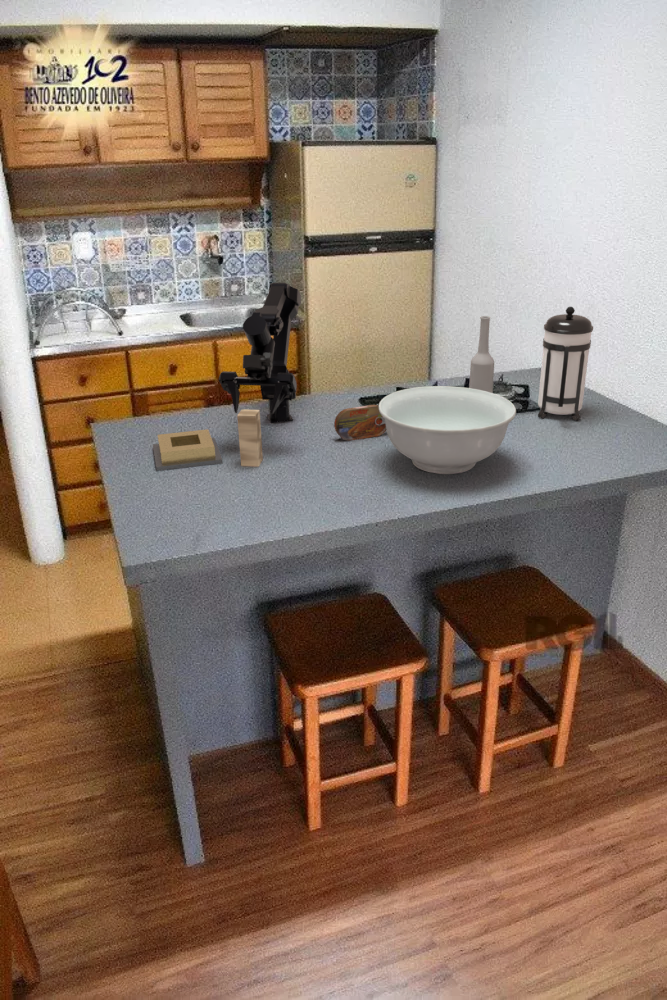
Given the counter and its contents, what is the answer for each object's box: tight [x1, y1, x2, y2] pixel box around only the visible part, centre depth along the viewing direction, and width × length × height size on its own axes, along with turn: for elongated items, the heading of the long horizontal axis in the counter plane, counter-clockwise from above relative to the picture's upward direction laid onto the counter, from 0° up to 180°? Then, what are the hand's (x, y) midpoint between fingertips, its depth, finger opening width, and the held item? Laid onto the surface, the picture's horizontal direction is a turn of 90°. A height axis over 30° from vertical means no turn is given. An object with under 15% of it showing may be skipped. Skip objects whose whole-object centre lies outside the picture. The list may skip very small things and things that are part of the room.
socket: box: [152, 429, 223, 471], centre depth 196 cm, size 16×16×4 cm
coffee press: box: [537, 306, 594, 422], centre depth 212 cm, size 17×16×30 cm
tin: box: [333, 404, 387, 442], centre depth 205 cm, size 15×3×8 cm, turn 109°
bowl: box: [378, 385, 517, 475], centre depth 186 cm, size 32×32×15 cm
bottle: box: [468, 315, 495, 394], centre depth 213 cm, size 7×7×28 cm
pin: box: [236, 409, 264, 468], centre depth 189 cm, size 4×4×13 cm
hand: (253, 412), depth 191 cm, fingers open, 9 cm apart
